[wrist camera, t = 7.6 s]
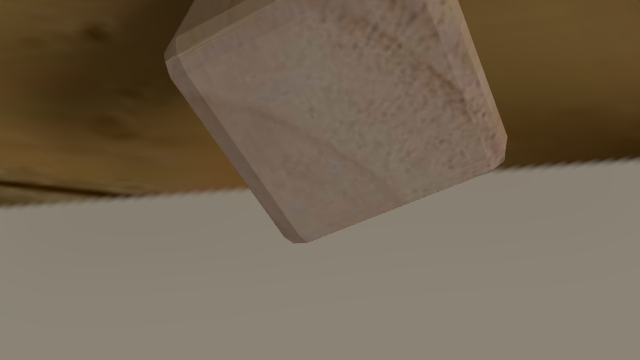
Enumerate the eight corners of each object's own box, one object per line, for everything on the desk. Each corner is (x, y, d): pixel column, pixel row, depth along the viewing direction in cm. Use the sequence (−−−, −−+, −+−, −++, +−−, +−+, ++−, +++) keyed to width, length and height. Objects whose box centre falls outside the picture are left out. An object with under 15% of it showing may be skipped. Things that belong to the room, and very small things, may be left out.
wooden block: (299, 67, 40) (289, 259, 24) (224, -66, 35) (144, 61, 18) (430, 4, 37) (522, 170, 21) (370, -150, 32) (429, -89, 16)
